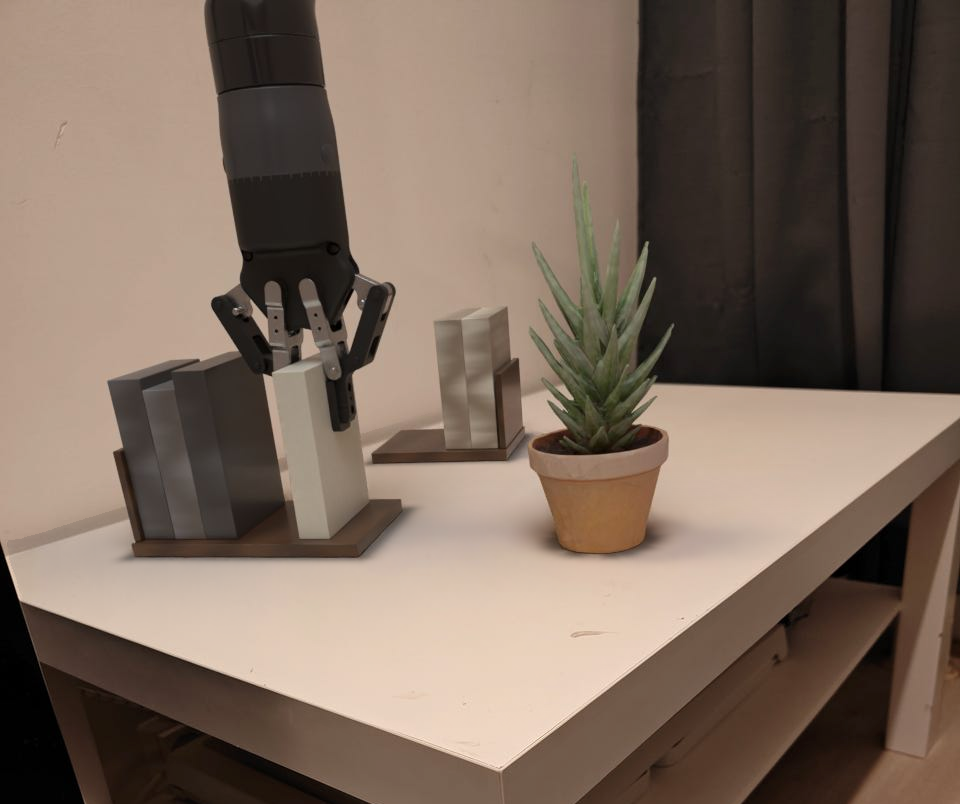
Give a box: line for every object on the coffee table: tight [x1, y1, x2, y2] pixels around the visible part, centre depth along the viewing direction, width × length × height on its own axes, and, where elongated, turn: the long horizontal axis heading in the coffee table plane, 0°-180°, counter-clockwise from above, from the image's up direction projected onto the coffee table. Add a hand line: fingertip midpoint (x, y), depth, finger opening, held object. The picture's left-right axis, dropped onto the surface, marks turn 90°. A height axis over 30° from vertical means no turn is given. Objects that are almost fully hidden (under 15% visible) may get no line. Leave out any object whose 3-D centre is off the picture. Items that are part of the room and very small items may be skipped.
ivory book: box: [272, 351, 370, 539], centre depth 70 cm, size 2×9×12 cm, turn 167°
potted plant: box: [527, 151, 675, 554], centre depth 61 cm, size 10×10×25 cm
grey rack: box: [106, 350, 403, 558], centre depth 71 cm, size 18×11×13 cm, turn 77°
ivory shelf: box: [371, 305, 526, 464], centre depth 92 cm, size 14×10×13 cm
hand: (322, 429), depth 69 cm, fingers closed on ivory book, 2 cm apart
